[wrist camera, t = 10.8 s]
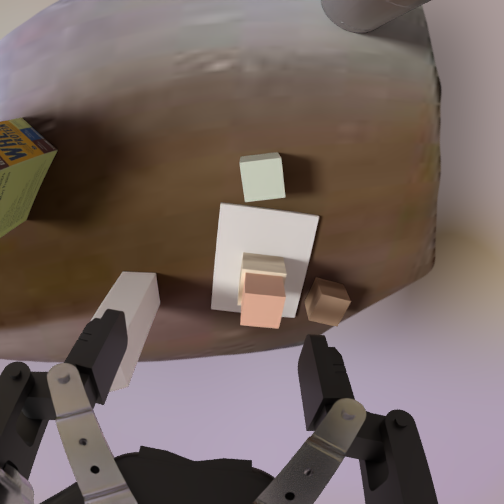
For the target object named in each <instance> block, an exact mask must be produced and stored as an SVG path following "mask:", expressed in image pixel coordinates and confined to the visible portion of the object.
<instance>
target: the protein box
mask: <svg viewBox="0 0 504 504" xmlns="http://www.w3.org/2000/svg"><path fill="white" fill-rule="evenodd" d="M57 151H58V150H57V149H56V148H55V147H54V146H53V145H52V144H50V143H49V142H48V141H47V140H46V139H45V138H44V137H43V136H41V135H40V134H39V133H38V132H37V131H36V130H35V129H34V128H33V127H32V126H30V125H29V124H28V123H27V122H26V121H25V120H24V119H23V118H18V119H12V120H8V121H2V122H0V238H1V237H2V236H4V235H5V234H6V233H8V232H9V231H11V230H12V229H14V228H15V227H17V226H18V225H20V224H21V223H23V222H24V221H26V220H27V217H28V214H29V212H30V209H31V207H32V204H33V202H34V200H35V197H36V195H37V193H38V190H39V188H40V186H41V184H42V181H43V179H44V177H45V175H46V173H47V171H48V169H49V167H50V165H51V163H52V161H53V159H54V157H55V155H56V153H57Z"/></svg>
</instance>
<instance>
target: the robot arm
mask: <svg viewBox="0 0 504 504" xmlns="http://www.w3.org/2000/svg"><path fill="white" fill-rule="evenodd" d="M429 1H431V0H321V3H322V7H323V10H324V11H325V13H326V15H327V16H328V17H329V18H330V20H331V21H332V22H334V23H335V24H336V25H337V26H339V27H341V28H343V29H345V30H348V31H350V32H356V33H365V32H370V31H372V30H374V29H376V28H378V27H380V26H381V25H383V24H385V23H387V22H389V21H391V20H393V19H395V18H397V17H399V16H400V15H402V14H404V13H406V12H408V11H410V10H412V9H414V8H416V7H418V6H421V5H422V4H425V3H427V2H429ZM127 345H128V335H127V328H126V321H125V314H124V312H123V311H118V310H113V309H107V310H106V311H105V312H104V314H103V316H102V317H101V319H100V318H94V319H93V320H92V321H90V322H89V323H88V324H87V325H86V327H85V328H84V330H83V332H82V333H81V335H80V336H79V338H78V340H77V341H76V343H75V345H74V346H73V348H72V350H71V352H70V353H69V355H68V357H67V358H66V360H65V362H64V363H60V364H57V365H55V366H53V367H52V368H51V369H50V370H49V372H31V371H30V369H29V367H28V366H27V365H26V364H25V363H23V362H13V363H10V364H9V365H7V366H6V367H5V369H4V370H3V372H2V373H1V375H0V504H34V499H33V497H34V491H33V487H32V485H31V484H30V482H29V481H28V478H29V476H30V473H31V469H32V466H33V463H34V460H35V457H36V454H37V451H38V448H39V445H40V442H41V440H42V437H43V434H44V432H45V429H46V426H47V424H48V421H49V420H56V424H57V428H58V431H59V434H60V437H61V440H62V443H63V446H64V449H65V452H66V455H67V458H68V460H69V463H70V465H71V468H72V471H73V473H74V476H75V478H76V481H77V482H75V483H74V484H72V485H71V486H69V487H68V488H66V489H64V490H63V491H61V492H59V493H57V494H56V495H54V496H52V497H50V498H49V499H47V500H45V501H43V502H42V503H40V504H313V503H314V502H315V501H316V499H317V498H318V496H319V495H320V494H321V492H322V491H323V489H324V488H325V486H326V485H327V483H328V482H329V481H330V479H331V478H332V476H333V475H334V473H335V472H336V470H337V469H338V467H339V465H340V464H341V462H342V461H343V459H344V457H345V456H346V457H351V458H356V459H359V462H360V469H361V475H362V481H363V489H364V496H365V503H366V504H438V501H437V497H436V493H435V489H434V485H433V481H432V477H431V474H430V470H429V466H428V463H427V460H426V456H425V453H424V449H423V446H422V443H421V440H420V436H419V433H418V430H417V427H416V424H415V421H414V419H413V417H412V416H411V415H410V414H409V413H407V412H405V411H403V410H392V411H390V412H389V413H388V414H387V415H386V416H383V415H378V414H373V413H369V412H367V411H366V410H365V408H364V407H363V405H362V404H361V403H359V402H358V401H356V400H355V398H354V395H353V392H352V389H351V385H350V382H349V378H348V375H347V373H346V368H345V366H344V362H343V359H342V356H341V354H340V353H339V352H338V351H337V349H336V348H335V347H328V344H327V341H326V338H325V336H324V335H311V334H308V335H307V336H306V339H305V342H304V345H303V348H302V351H301V354H300V357H299V361H298V375H299V382H300V388H301V395H302V402H303V409H304V416H305V423H306V430H307V431H315V432H314V433H313V434H312V436H311V437H309V438H308V439H307V440H306V442H305V443H304V444H303V445H302V447H301V448H300V449H299V450H298V451H297V453H296V454H295V455H294V456H293V458H292V459H291V460H290V461H289V463H288V464H287V465H286V466H285V467H284V468H283V470H282V471H281V472H280V473H279V474H278V475H277V477H276V478H274V477H273V476H272V475H270V474H268V473H266V472H264V471H262V470H260V469H257V468H254V467H252V460H238V459H226V458H223V459H214V460H205V461H192V460H189V459H187V458H184V457H181V456H179V455H176V454H174V453H171V452H169V451H166V450H160V449H155V448H150V447H145V446H140V451H139V452H133V453H127V454H123V455H120V456H117V457H115V458H114V456H113V454H112V452H111V450H110V448H109V446H108V443H107V441H106V439H105V437H104V435H103V432H102V430H101V428H100V426H99V423H98V421H97V418H96V416H95V413H94V411H93V408H94V406H95V403H98V404H102V405H104V404H105V401H106V398H107V396H108V393H109V391H110V388H111V386H112V383H113V381H114V378H115V376H116V373H117V371H118V368H119V366H120V364H121V361H122V359H123V357H124V354H125V352H126V349H127Z"/></svg>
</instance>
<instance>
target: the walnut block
mask: <svg viewBox="0 0 504 504" xmlns="http://www.w3.org/2000/svg"><path fill="white" fill-rule="evenodd" d="M304 303H305V307H306V311H307V315H308V319H309V320H310V321H315V322H319V323H324V324H328V325H333V326H338V324H339V322H340V321H341V319H342V317H343V315H344V313H345V312H346V310H347V308H348V306H349V304H350V303H351V300H350V298H349V296H348V293H347V291H346V289H345V287H344V285H343V284H340V283H336V282H333V281H329V280H325V279H321V278H318V277H316V278H315V280H314V282H313V285H312V287H311V289H310V291H309V293H308V295H307V297H306V300H305V302H304Z"/></svg>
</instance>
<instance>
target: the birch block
mask: <svg viewBox="0 0 504 504" xmlns="http://www.w3.org/2000/svg"><path fill="white" fill-rule="evenodd" d="M245 273H255V274H264V275H273V276H282V277H283V283H284V284H285V279H286V275H287V273H286V268H285V263H284V258H283V257H279V256H270V255H262V254H253V253H245V252H243V257H242V265H241V272H240V279H239V287H238V303H237V305H240V306H241V302H242V294H243V287H244V280H245Z"/></svg>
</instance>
